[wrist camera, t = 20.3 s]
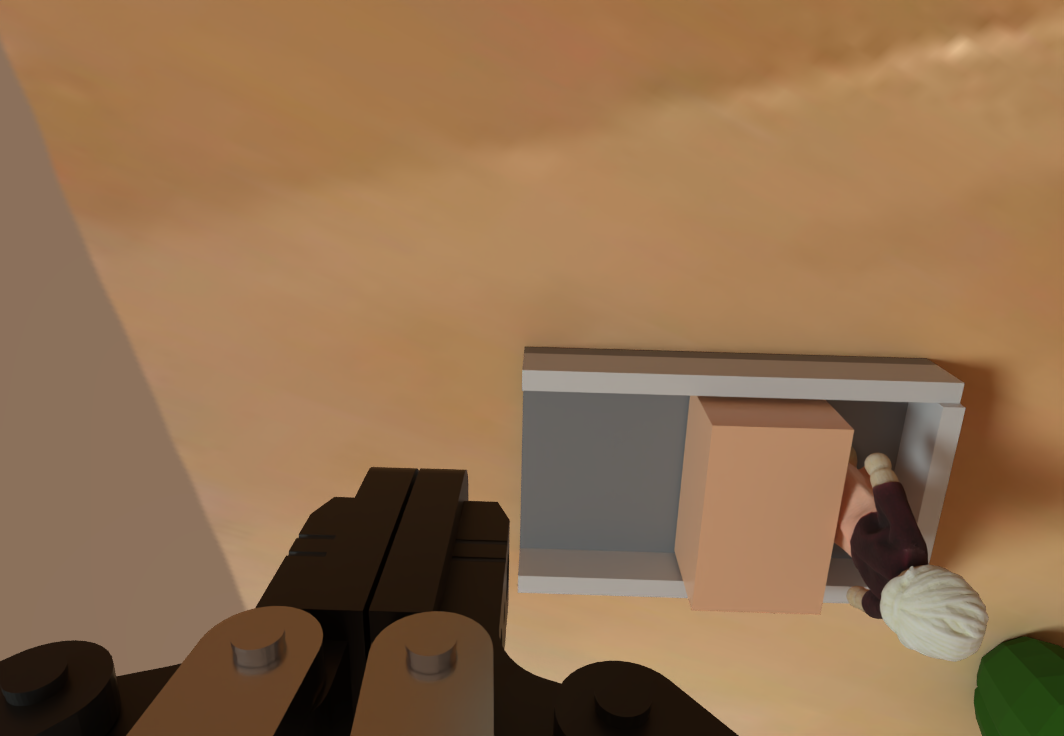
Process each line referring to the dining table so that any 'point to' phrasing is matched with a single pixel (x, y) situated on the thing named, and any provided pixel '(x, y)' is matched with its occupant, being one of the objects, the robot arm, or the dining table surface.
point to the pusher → (760, 502)
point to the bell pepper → (1021, 689)
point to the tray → (659, 441)
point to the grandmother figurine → (903, 567)
